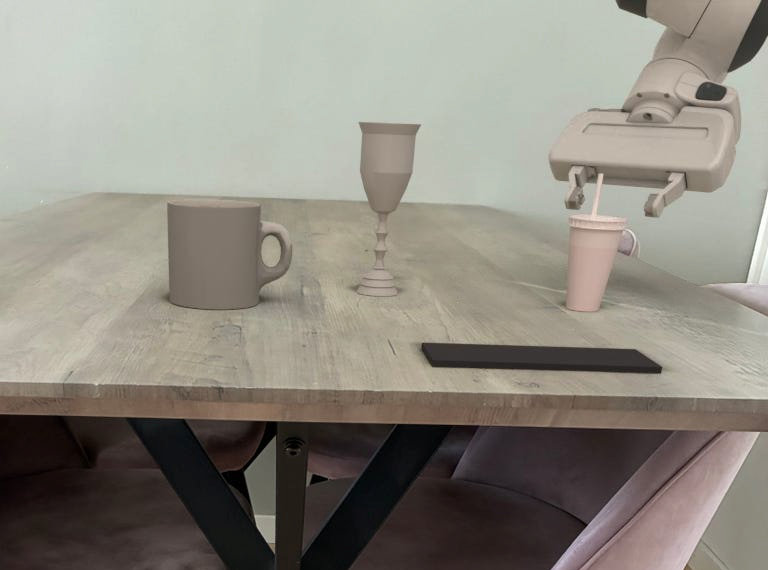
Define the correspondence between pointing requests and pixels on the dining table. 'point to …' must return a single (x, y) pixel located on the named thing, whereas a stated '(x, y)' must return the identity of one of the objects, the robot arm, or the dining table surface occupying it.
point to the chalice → (384, 188)
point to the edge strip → (539, 358)
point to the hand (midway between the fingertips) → (609, 209)
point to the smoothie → (591, 255)
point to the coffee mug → (220, 253)
